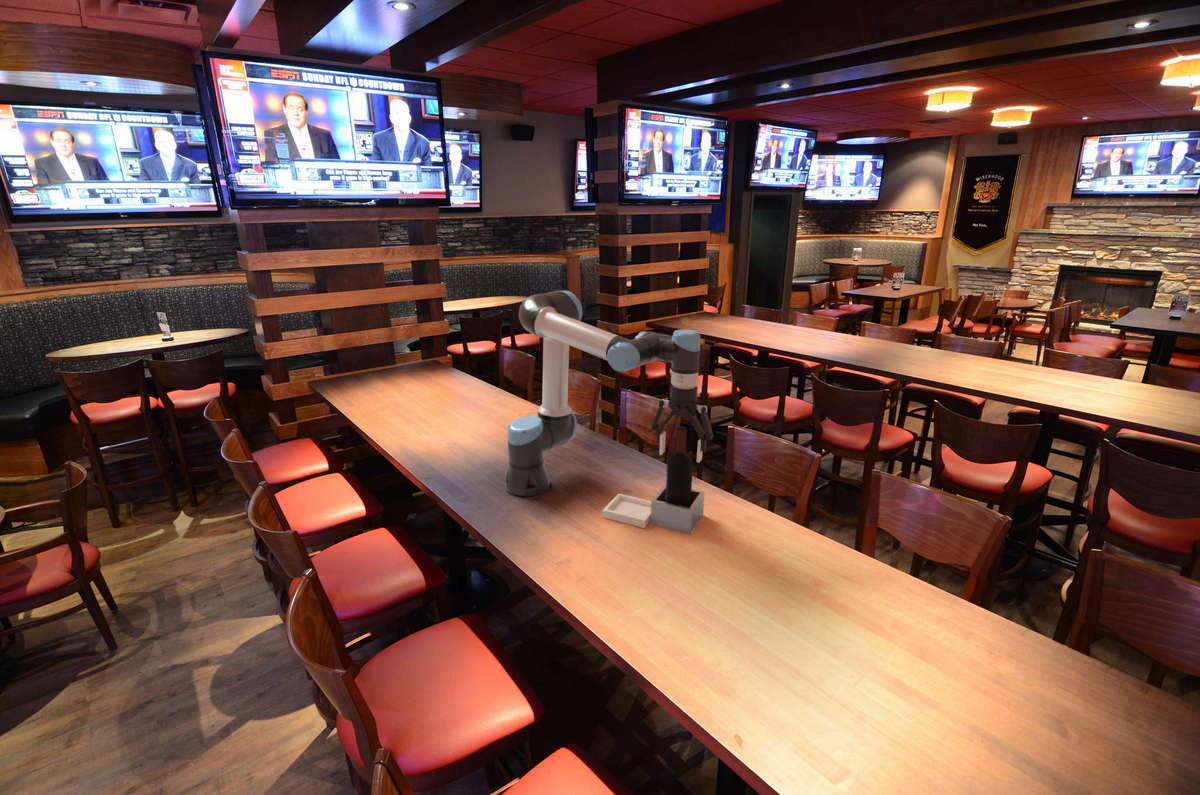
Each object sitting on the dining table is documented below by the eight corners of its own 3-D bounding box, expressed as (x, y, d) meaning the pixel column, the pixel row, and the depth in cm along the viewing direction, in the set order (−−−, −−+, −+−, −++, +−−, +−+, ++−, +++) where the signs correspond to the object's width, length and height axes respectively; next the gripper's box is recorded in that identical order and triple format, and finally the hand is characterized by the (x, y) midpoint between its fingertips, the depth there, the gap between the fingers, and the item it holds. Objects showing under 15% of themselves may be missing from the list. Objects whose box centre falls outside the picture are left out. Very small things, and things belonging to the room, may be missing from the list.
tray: (602, 517, 177) (602, 509, 176) (618, 500, 187) (618, 493, 186) (644, 528, 171) (644, 520, 170) (659, 510, 181) (659, 503, 181)
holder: (650, 524, 173) (651, 500, 171) (664, 506, 184) (665, 483, 181) (690, 534, 168) (691, 510, 165) (702, 515, 179) (704, 492, 176)
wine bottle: (670, 527, 171) (674, 434, 162) (660, 515, 178) (664, 424, 169) (693, 524, 173) (699, 431, 164) (683, 512, 180) (688, 422, 171)
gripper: (640, 383, 164) (638, 454, 171) (721, 394, 154) (715, 469, 161) (650, 376, 170) (648, 445, 177) (728, 387, 161) (722, 459, 167)
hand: (680, 456), depth 169 cm, fingers open, 11 cm apart
